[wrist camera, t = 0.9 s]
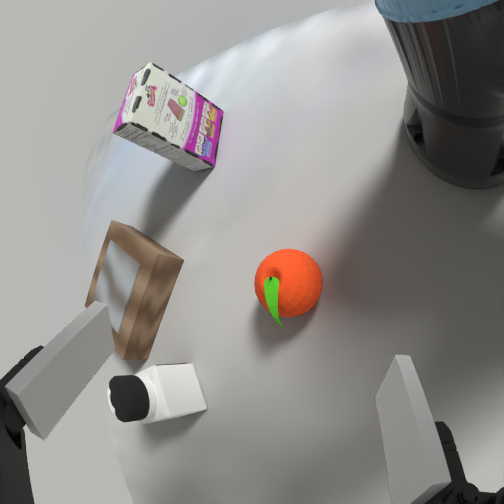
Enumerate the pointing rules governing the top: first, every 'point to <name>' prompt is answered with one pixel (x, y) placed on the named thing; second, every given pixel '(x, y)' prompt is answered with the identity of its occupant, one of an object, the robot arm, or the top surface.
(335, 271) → the top surface
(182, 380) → the medicine bottle
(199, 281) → the top surface
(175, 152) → the candy bar box
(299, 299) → the clementine
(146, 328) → the walnut base
